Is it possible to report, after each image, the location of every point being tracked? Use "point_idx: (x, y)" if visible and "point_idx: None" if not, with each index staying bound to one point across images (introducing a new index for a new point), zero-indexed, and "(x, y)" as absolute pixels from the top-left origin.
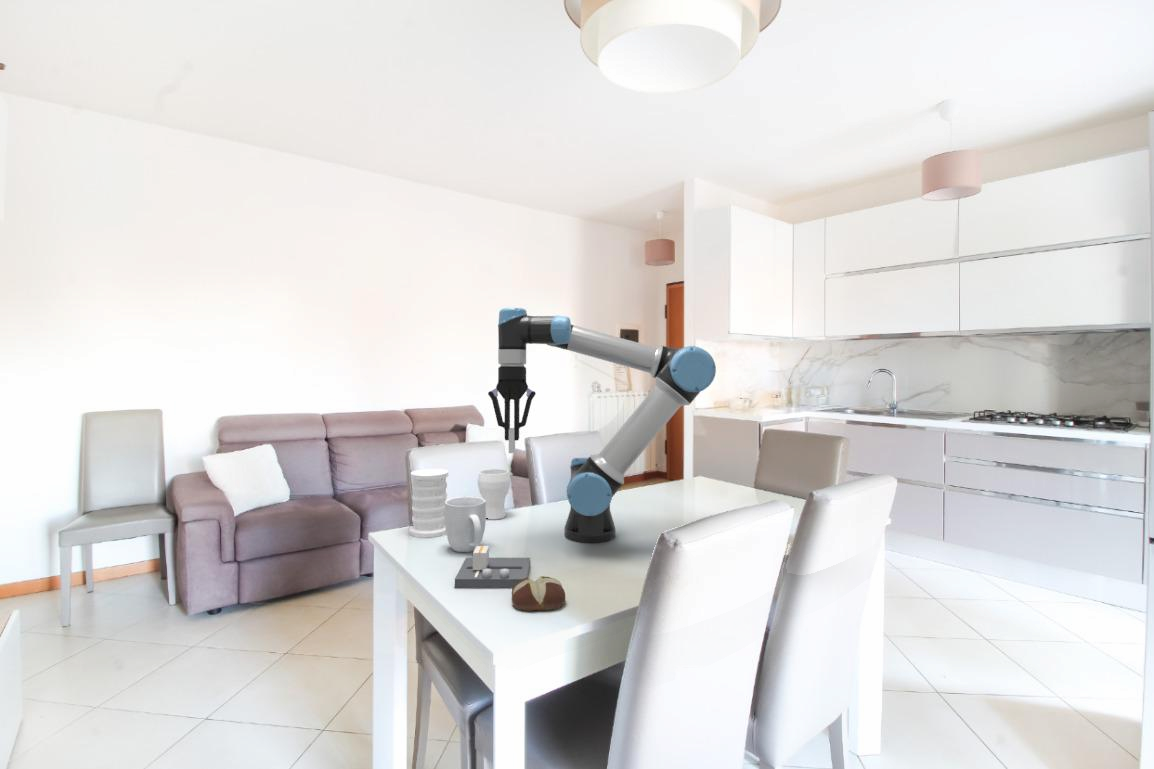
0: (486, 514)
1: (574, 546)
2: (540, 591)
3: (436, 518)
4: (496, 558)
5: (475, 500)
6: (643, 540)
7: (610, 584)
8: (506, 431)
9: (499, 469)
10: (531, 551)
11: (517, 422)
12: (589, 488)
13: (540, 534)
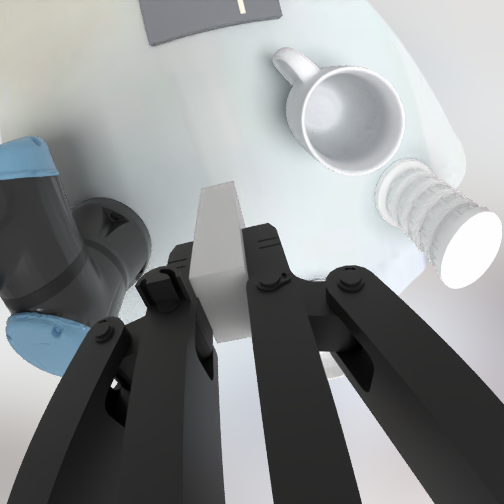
0: None
1: (107, 174)
2: None
3: (406, 185)
4: (217, 20)
5: (339, 166)
6: None
7: (19, 36)
8: (270, 264)
9: (331, 377)
10: (175, 119)
11: (151, 339)
12: None
13: (194, 223)
